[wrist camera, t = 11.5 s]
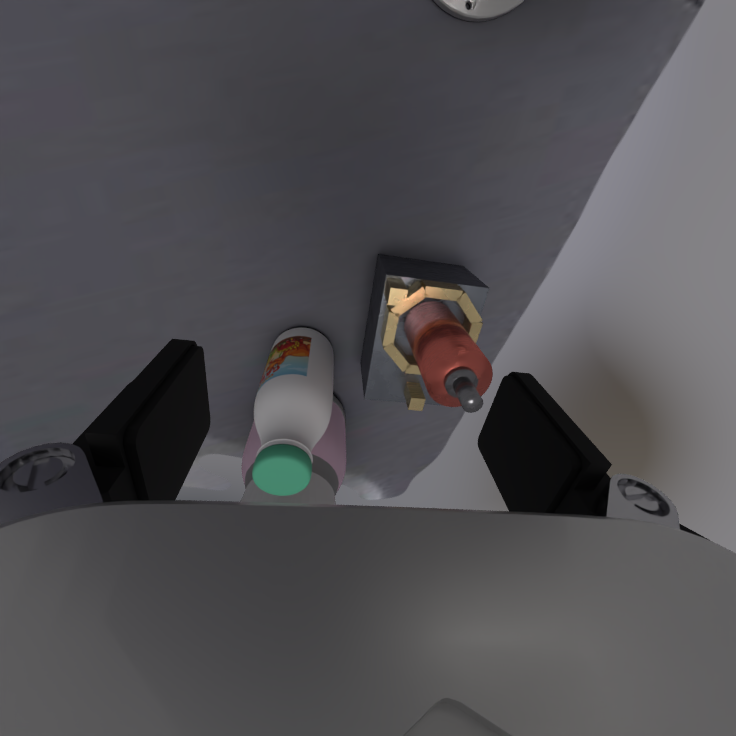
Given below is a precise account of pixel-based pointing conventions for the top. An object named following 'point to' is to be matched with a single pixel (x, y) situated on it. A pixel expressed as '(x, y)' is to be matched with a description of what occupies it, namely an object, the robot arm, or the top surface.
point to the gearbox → (388, 314)
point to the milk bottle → (292, 410)
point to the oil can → (447, 357)
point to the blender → (324, 466)
